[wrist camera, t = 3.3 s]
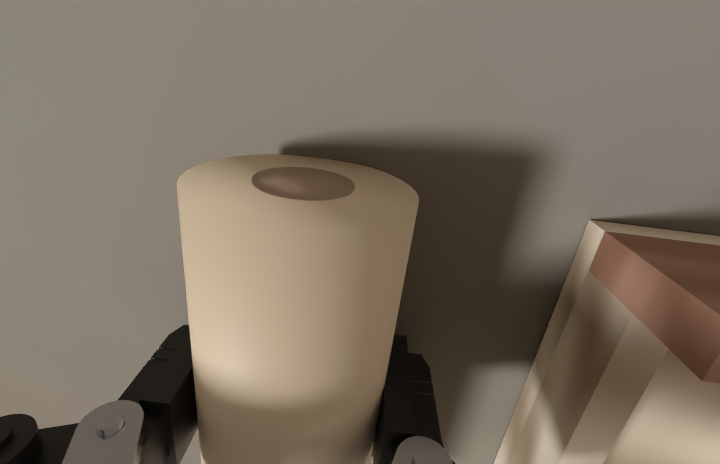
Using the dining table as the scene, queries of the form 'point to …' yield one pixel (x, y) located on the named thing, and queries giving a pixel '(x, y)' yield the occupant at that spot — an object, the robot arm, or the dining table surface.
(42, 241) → the dining table surface
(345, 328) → the paper roll
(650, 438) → the roll holder
